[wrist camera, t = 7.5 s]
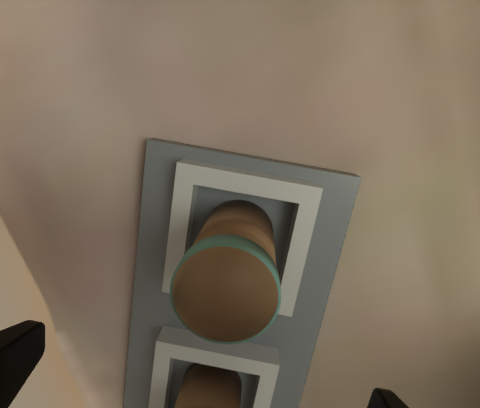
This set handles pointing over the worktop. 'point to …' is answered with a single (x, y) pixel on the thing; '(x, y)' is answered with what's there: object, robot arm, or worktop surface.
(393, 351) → the worktop surface
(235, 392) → the seated sleeve
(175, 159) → the socket board
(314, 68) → the worktop surface
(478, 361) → the worktop surface
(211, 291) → the sleeve
